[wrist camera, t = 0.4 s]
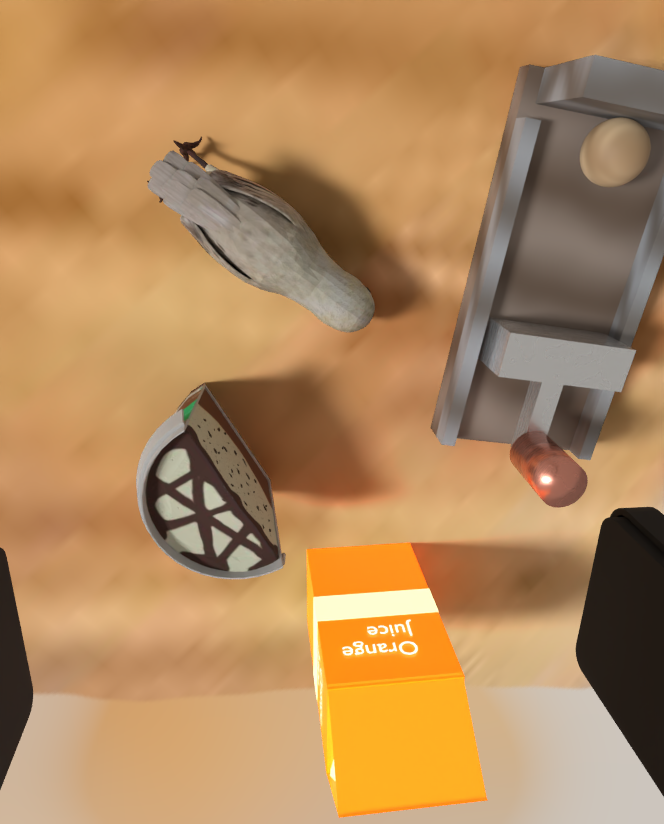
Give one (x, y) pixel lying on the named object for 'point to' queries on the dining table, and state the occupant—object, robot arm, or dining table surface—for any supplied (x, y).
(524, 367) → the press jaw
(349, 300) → the decorative bird
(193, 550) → the food container
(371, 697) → the orange juice
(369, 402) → the dining table surface
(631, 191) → the nut press
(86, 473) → the dining table surface
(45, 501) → the dining table surface
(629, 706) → the robot arm
